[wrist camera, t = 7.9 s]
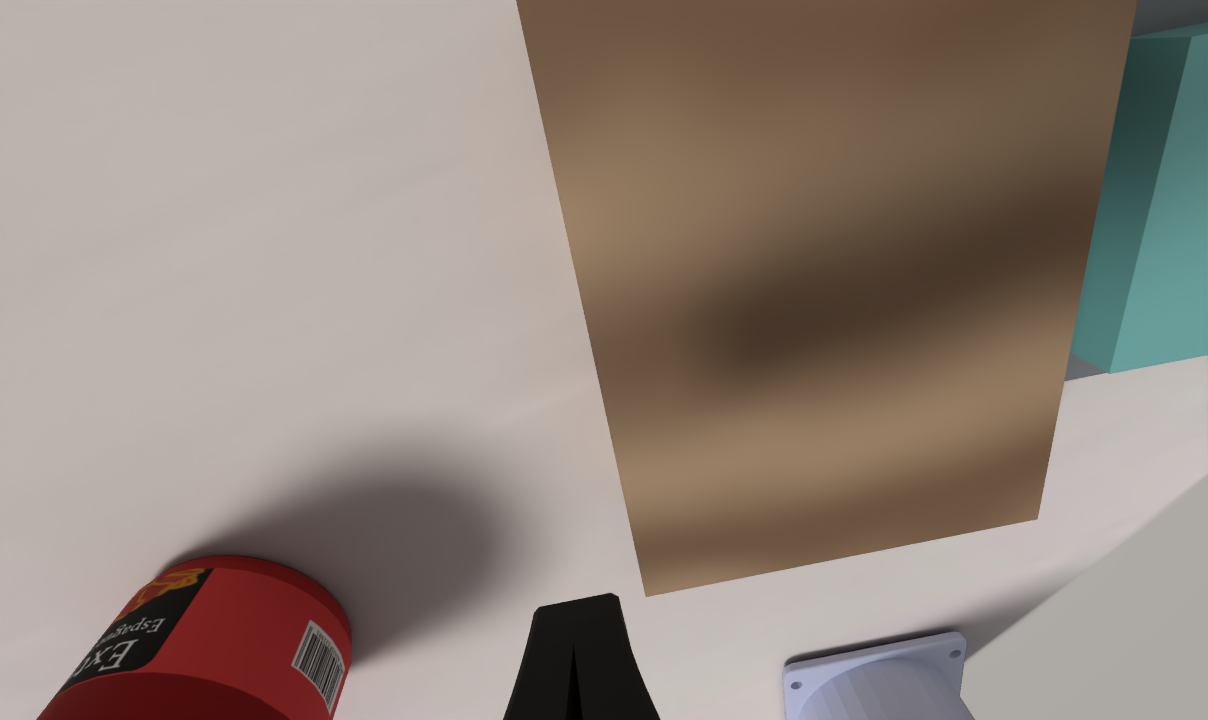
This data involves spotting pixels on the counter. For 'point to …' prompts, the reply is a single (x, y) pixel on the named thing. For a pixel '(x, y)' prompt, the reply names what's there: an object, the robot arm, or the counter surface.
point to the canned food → (215, 649)
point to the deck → (826, 258)
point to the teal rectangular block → (1152, 213)
